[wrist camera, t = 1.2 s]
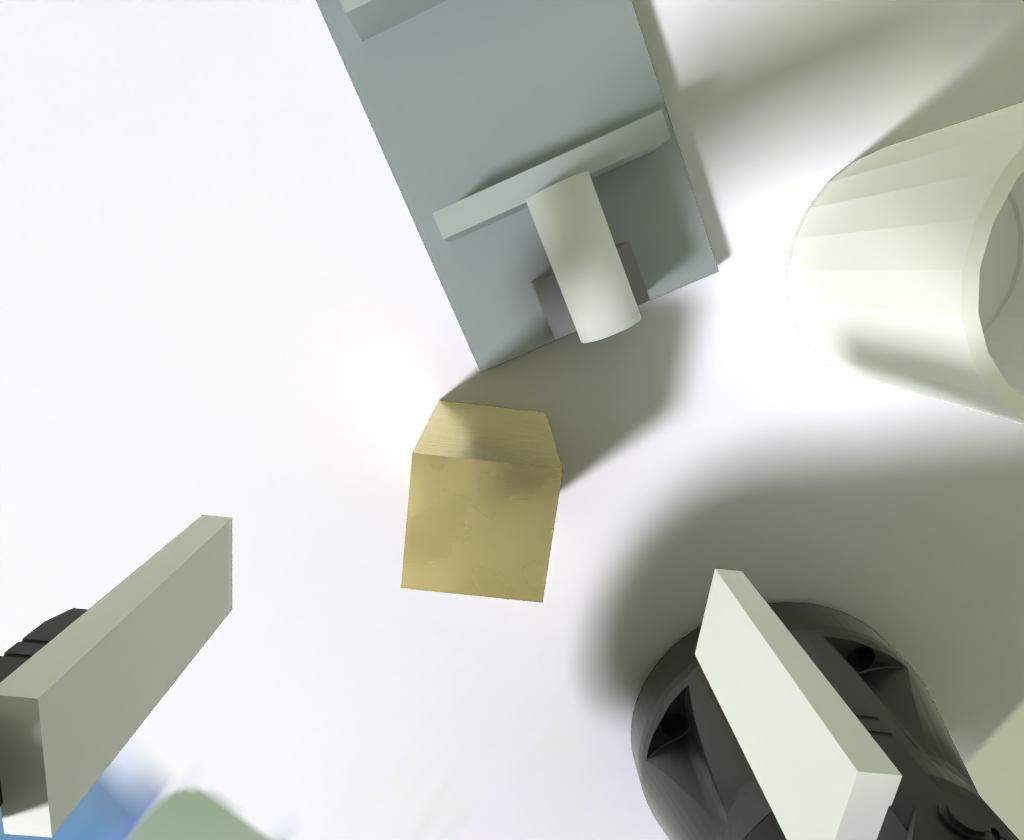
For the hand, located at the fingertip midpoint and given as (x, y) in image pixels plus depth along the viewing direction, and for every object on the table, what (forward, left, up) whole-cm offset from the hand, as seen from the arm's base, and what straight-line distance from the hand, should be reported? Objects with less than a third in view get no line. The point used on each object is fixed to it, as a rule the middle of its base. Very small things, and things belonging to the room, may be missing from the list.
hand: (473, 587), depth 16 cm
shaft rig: (+14, -7, -12) cm, 20 cm away
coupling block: (0, 0, -12) cm, 12 cm away
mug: (0, -21, -12) cm, 24 cm away
